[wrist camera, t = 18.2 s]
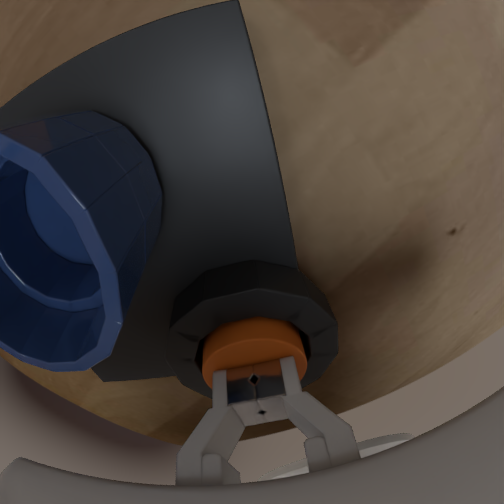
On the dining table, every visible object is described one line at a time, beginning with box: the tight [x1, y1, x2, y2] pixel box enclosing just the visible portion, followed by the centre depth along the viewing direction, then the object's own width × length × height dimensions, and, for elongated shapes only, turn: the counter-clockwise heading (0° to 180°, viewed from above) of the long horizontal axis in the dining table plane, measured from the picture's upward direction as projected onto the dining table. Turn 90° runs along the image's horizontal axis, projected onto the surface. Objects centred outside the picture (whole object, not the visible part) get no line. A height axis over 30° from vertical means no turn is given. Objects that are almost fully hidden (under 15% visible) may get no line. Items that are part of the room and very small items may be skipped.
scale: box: [0, 0, 338, 399], centre depth 10 cm, size 16×13×3 cm
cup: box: [0, 110, 162, 372], centre depth 7 cm, size 6×6×5 cm
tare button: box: [202, 316, 307, 389], centre depth 11 cm, size 4×4×2 cm
